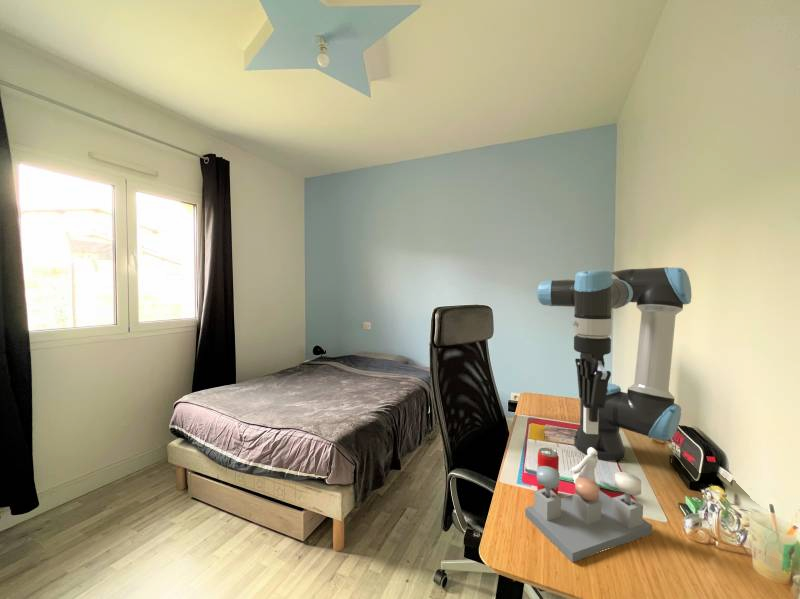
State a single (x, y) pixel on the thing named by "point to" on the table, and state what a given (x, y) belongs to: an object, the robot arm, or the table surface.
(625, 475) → the ivory button
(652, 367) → the robot arm
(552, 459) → the beverage can
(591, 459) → the figurine
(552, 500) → the button board
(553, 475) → the blue-grey rounded knob
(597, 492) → the terracotta button
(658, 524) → the table surface
